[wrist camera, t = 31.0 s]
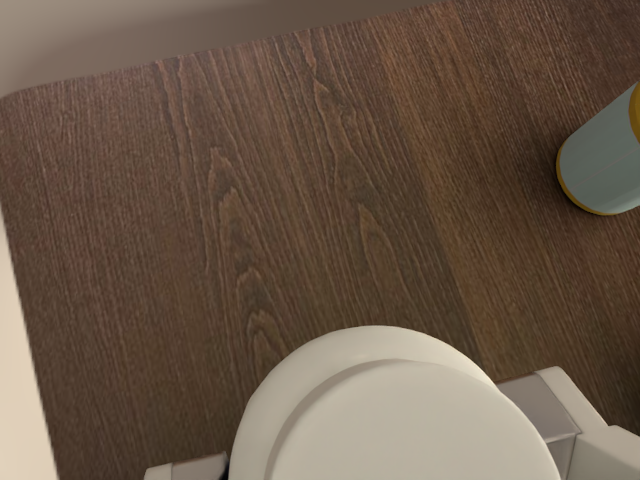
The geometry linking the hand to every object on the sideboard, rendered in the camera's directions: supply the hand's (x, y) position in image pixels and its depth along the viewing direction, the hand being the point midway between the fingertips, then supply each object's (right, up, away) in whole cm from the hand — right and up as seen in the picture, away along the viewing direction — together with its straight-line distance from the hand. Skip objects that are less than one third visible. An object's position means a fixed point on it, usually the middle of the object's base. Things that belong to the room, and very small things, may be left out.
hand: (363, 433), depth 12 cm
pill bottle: (0, -2, +5) cm, 6 cm away
